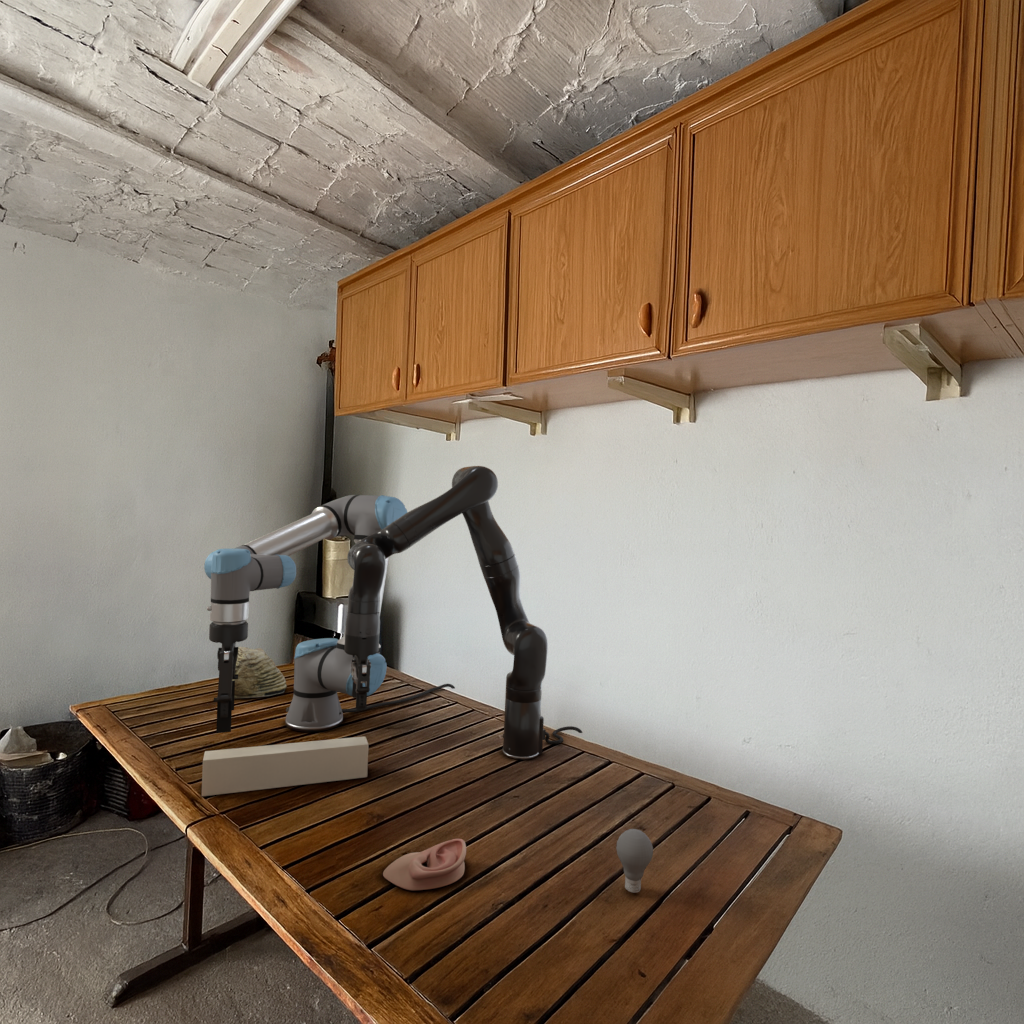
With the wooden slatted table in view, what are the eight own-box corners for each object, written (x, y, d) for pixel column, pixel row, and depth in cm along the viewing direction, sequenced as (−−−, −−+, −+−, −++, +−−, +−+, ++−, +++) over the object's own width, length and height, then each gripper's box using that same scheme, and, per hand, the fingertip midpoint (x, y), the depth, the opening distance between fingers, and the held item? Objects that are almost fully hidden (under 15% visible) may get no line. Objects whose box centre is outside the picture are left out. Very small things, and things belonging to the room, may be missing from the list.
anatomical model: (376, 860, 104) (402, 826, 115) (375, 884, 104) (401, 847, 115) (453, 873, 101) (472, 837, 113) (452, 898, 101) (471, 859, 113)
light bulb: (610, 879, 108) (613, 822, 108) (644, 879, 109) (647, 822, 109) (619, 902, 102) (622, 840, 102) (655, 901, 103) (658, 840, 103)
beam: (201, 796, 132) (202, 760, 131) (203, 786, 136) (204, 751, 136) (367, 777, 144) (368, 744, 144) (364, 768, 149) (365, 736, 148)
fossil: (218, 695, 195) (220, 647, 195) (278, 685, 208) (279, 640, 207) (228, 703, 189) (230, 653, 188) (289, 692, 201) (290, 645, 201)
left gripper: (214, 611, 145) (210, 703, 145) (204, 634, 122) (200, 744, 122) (249, 610, 148) (246, 701, 148) (246, 633, 124) (242, 740, 125)
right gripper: (342, 625, 147) (339, 694, 148) (348, 638, 134) (344, 715, 134) (375, 625, 150) (371, 693, 150) (383, 638, 136) (380, 712, 137)
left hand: (225, 720), depth 135 cm, fingers open, 13 cm apart
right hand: (358, 703), depth 142 cm, fingers open, 8 cm apart
